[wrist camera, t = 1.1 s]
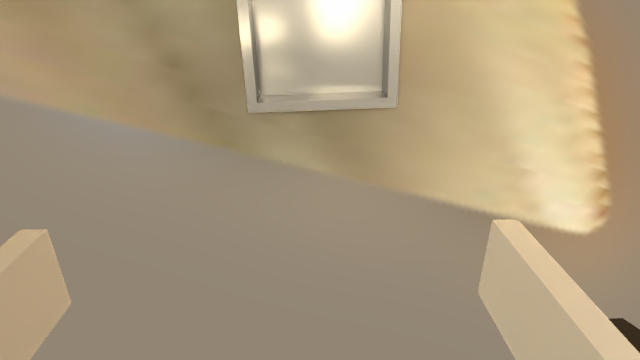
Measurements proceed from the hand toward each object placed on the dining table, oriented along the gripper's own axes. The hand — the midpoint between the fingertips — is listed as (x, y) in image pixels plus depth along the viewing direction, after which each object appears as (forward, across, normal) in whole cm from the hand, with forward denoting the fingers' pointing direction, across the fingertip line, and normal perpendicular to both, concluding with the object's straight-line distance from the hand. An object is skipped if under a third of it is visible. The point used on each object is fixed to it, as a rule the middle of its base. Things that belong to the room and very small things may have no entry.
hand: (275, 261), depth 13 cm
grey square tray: (+26, +2, +4) cm, 26 cm away
